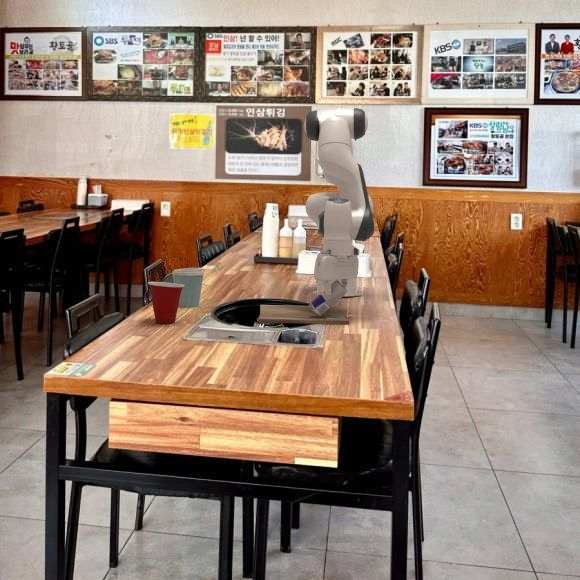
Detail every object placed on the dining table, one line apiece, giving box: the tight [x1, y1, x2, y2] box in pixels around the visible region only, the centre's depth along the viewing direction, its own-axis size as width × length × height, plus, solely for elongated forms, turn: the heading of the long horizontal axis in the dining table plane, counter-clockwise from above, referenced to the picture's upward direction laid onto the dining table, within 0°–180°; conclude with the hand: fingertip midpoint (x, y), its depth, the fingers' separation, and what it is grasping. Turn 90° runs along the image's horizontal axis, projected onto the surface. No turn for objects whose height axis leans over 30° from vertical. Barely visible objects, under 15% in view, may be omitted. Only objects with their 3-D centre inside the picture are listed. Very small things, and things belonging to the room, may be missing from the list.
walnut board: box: [257, 304, 351, 325], centre depth 207 cm, size 12×28×4 cm, turn 89°
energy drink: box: [308, 280, 347, 317], centre depth 207 cm, size 5×5×12 cm
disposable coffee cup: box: [171, 267, 205, 309], centre depth 220 cm, size 11×11×15 cm
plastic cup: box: [147, 281, 184, 324], centre depth 197 cm, size 11×11×12 cm
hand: (335, 293), depth 207 cm, fingers closed on energy drink, 6 cm apart
